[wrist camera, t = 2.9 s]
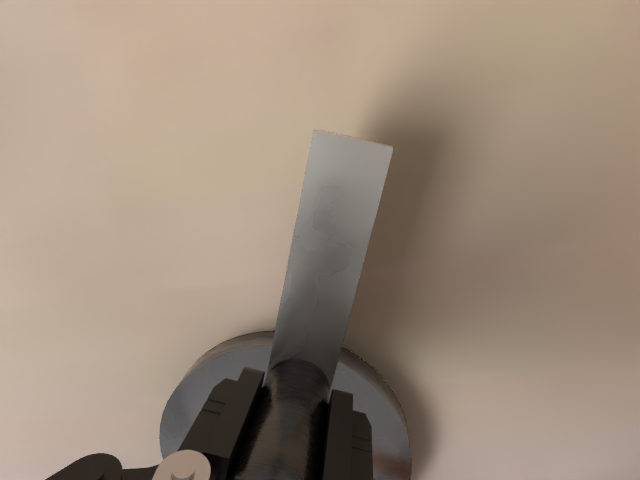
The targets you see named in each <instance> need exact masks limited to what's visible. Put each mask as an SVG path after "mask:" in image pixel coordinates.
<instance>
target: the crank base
mask: <svg viewBox="0 0 640 480" xmlns="http://www.w3.org/2000/svg"><path fill="white" fill-rule="evenodd" d="M274 334H275V332H259V333H252V334H247V335H243V336H240V337H236V338H233V339H231V340H228V341H226V342H223V343H221V344H219V345H218V346H216V347H214V348H213V349H211V350H209V351H208V352H207V353H206V354H204V355H203V356H202V357H201V358H199V359H198V360H197V362H196V363H195V364H194V365H193V366H192V367H191V368H190V369H189V371H188V372H187V374H186V375H185V376H184V378H183V379H182V381H181V382H180V383H179V385H178V386H177V388H176V389H175V391H174V392H173V394H172V395H171V397H170V398H169V400H168V402H167V404H166V407H165V409H164V412H163V415H162V420H161V424H160V447H161V453H162V457H163V460H164V459H165V458H166V457H168V456H169V455H171V454H173V453H175V452H177V450H178V449H179V447H180V446H181V444H182V442H183V440H184V439H185V437H186V435H187V433H188V432H189V430H190V428H191V426H192V424H193V423H194V421H195V419H196V417H197V416H198V414H199V412H200V411H201V409H202V407H203V405H204V403H205V402H206V401H207V398H208V396H209V395H210V393H211V391H212V389H213V388H214V386H216V385H217V384H218V383H220V382H221V381H222V380H224V379H225V378H227V379H231V380H235V381H238V378H239V376H240V374H241V372H242V370H243V368H244V367H248V368H252V369H256V370H260V371H264V372H265V375H264V381H263V384H264V382H265V379H266V376H267V371H268V365H269V360H270V355H271V350H272V344H273V339H274ZM262 387H263V386H262ZM332 389H336V390H340V391H344V392H348V393H352V394H353V410H354V411H358V412H362V413H365V414H366V416H367V418H368V420H369V422H370V424H371V426H372V455H373V480H410V477H411V453H410V446H409V440H408V433H407V427H406V422H405V417H404V414H403V412H402V409H401V406H400V404H399V402H398V400H397V398H396V396H395V394H394V393H393V391H392V390H391V388H390V387H389V386H388V384H387V383H386V381H385V380H384V379H383V378H382V377H381V376H380V375H379V374H378V373H377V372H376V371H375V370H374V369H373V368H372V367H371V366H370V365H368V364H367V363H366V362H365V361H363V360H362V359H361V358H359V357H358V356H356V355H355V354H353V353H351V352H350V351H348V350H347V349H344V348H341V351H340V355H339V359H338V363H337V367H336V371H335V374H334V378H333V382H332V386H331V390H330V394H329V399H330V395H331V392H332ZM328 403H329V402H328Z"/></svg>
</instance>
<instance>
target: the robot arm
mask: <svg viewBox="0 0 640 480" xmlns="http://www.w3.org/2000/svg"><path fill="white" fill-rule="evenodd" d="M264 375H265V372H264V371H260V370H256V369H252V368H248V367H244V368H243V370H242V372H241V374H240V376H239V378H238V381H235V380H231V379H227V378H225V379H224V380H222V381H221V382H220V383H218V384H217V385H216V386H214V388H213V389H212V391H211V393H210V395H209V396H208V398H207V401H206V402H205V403H204V405H203V407H202V409H201V411H200V412H199V414H198V416H197V417H196V419H195V421H194V423H193V424H192V426H191V428H190V430H189V432H188V433H187V435H186V437H185V439H184V440H183V442H182V444H181V446H180V447H179V449H178V450H177V452H175V453H173V454H171V455H169V456H168V457H166V458H165V459H164V460H163V461H162V462H161V463H160V464H159V465H156V466H153V467H149V468H137V469H122V465H121V463H120V461H119V460H118V459H117V458H116V457H114V456H112V455H109V454H104V453H97V454H92V455H88V456H85V457H83V458H80V459H79V460H77V461H75V462H73V463H72V464H70V465H68V466H67V467H65V468H64V469H62V470H60V471H59V472H57V473H55V474H54V475H52V476H50V477H49V478H47V479H46V480H227V478H228V476H229V473H230V470H231V468H232V465H233V463H234V460H235V457H236V455H237V452H238V450H239V447H240V444H241V442H242V439H243V437H244V434H245V431H246V429H247V426H248V423H249V421H250V418H251V416H252V413H253V410H254V408H255V405H256V403H257V400H258V397H259V395H260V392H261V390H262V386H263V381H264ZM319 480H373V455H372V426H371V424H370V422H369V420H368V418H367V416H366V414H365V413H362V412H358V411H354V410H353V394H352V393H348V392H344V391H340V390H336V389H332V392H331V395H330V399H329V403H328V409H327V417H326V426H325V434H324V442H323V450H322V458H321V466H320V474H319Z"/></svg>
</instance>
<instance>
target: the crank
mask: <svg viewBox="0 0 640 480" xmlns="http://www.w3.org/2000/svg"><path fill="white" fill-rule="evenodd" d="M393 149H394V147H392V146H391V145H387V144H382V143H378V142H373V141H369V140H364V139H360V138H355V137H350V136H346V135H341V134H337V133H332V132H327V131H323V130H313V135H312V141H311V146H310V151H309V156H308V162H307V167H306V172H305V177H304V182H303V188H302V193H301V198H300V203H299V209H298V214H297V219H296V224H295V229H294V235H293V240H292V245H291V250H290V256H289V261H288V266H287V271H286V276H285V282H284V287H283V292H282V297H281V303H280V308H279V313H278V318H277V324H276V329H275V334H274V339H273V344H272V350H271V355H270V360H269V365H268V371H267V376H266V379H265V382H264V384H263V387H262V390H261V392H260V395H259V397H258V400H257V403H256V405H255V408H254V410H253V413H252V416H251V418H250V421H249V423H248V426H247V429H246V431H245V434H244V437H243V439H242V442H241V444H240V447H239V450H238V452H237V455H236V457H235V460H234V463H233V465H232V468H231V470H230V473H229V476H228V478H227V480H319V474H320V466H321V458H322V450H323V442H324V434H325V426H326V417H327V409H328V402H329V394H330V390H331V386H332V382H333V378H334V374H335V371H336V367H337V363H338V359H339V355H340V351H341V348H342V344H343V340H344V336H345V332H346V328H347V325H348V321H349V317H350V313H351V309H352V306H353V302H354V298H355V294H356V290H357V286H358V283H359V279H360V275H361V271H362V267H363V264H364V260H365V256H366V252H367V248H368V244H369V241H370V237H371V233H372V229H373V225H374V221H375V218H376V214H377V210H378V206H379V202H380V199H381V195H382V191H383V187H384V183H385V179H386V176H387V172H388V168H389V164H390V160H391V157H392V153H393Z"/></svg>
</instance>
